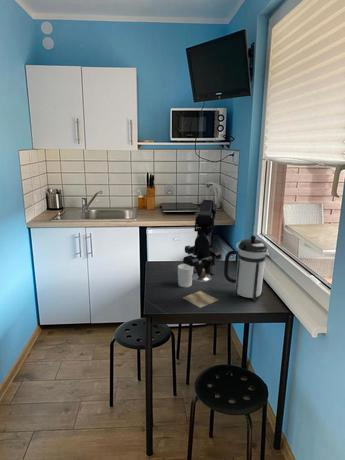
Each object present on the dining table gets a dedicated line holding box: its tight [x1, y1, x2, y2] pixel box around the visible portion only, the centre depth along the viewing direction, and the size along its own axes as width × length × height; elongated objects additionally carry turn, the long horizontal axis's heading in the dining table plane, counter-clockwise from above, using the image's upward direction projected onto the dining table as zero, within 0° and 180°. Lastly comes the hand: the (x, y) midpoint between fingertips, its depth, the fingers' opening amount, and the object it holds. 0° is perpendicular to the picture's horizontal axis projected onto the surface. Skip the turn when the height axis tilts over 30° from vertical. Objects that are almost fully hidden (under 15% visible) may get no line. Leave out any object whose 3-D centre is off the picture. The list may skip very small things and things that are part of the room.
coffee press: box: [223, 234, 270, 303], centre depth 154 cm, size 17×16×30 cm
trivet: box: [182, 290, 219, 309], centre depth 152 cm, size 12×12×1 cm
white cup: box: [177, 263, 195, 288], centre depth 166 cm, size 8×8×10 cm
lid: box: [192, 267, 213, 283], centre depth 149 cm, size 9×9×5 cm
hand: (201, 275), depth 149 cm, fingers closed on lid, 3 cm apart
